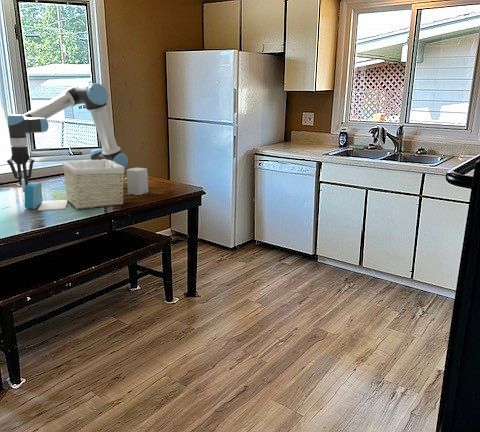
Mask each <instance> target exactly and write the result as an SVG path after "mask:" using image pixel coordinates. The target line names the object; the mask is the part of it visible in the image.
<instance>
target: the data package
mask: <svg viewBox="0 0 480 432" xmlns="http://www.w3.org/2000/svg"><path fill="white" fill-rule="evenodd" d="M23 194H24V209H27V210H28V209H29V210H30V209H31V210H35V209H37V208H39V207H40V205H41V204H42V202H43V199H42V197H43V195H42V183H41V182H37V181H31V182H28V185H26V186H25V188H24V192H23Z"/></svg>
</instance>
